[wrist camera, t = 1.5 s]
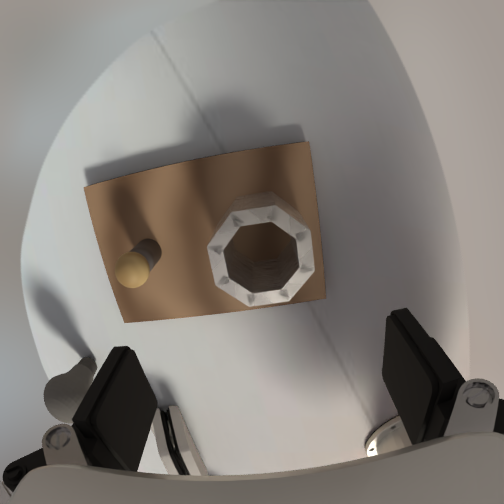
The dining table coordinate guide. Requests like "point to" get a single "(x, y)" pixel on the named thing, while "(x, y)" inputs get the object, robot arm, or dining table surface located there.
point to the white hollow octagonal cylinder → (268, 271)
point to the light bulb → (69, 390)
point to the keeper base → (197, 229)
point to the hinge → (176, 444)
